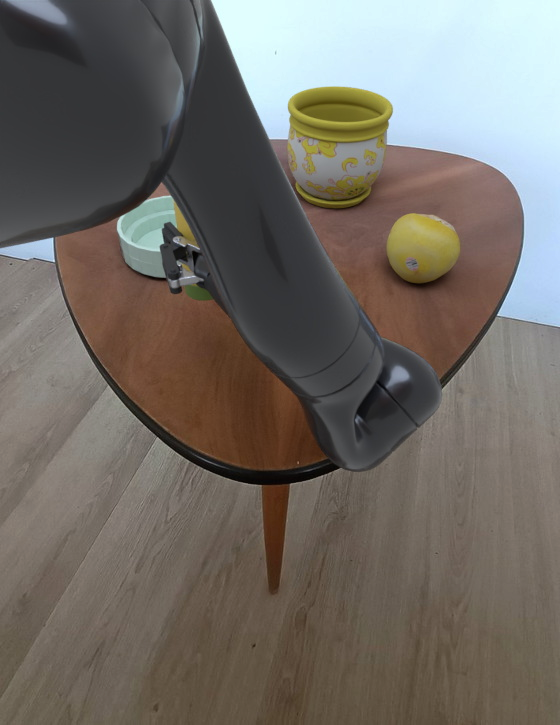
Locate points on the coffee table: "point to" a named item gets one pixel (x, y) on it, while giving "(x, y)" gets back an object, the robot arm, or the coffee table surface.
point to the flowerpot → (337, 143)
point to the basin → (146, 235)
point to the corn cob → (183, 227)
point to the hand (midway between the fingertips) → (189, 223)
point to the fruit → (422, 247)
